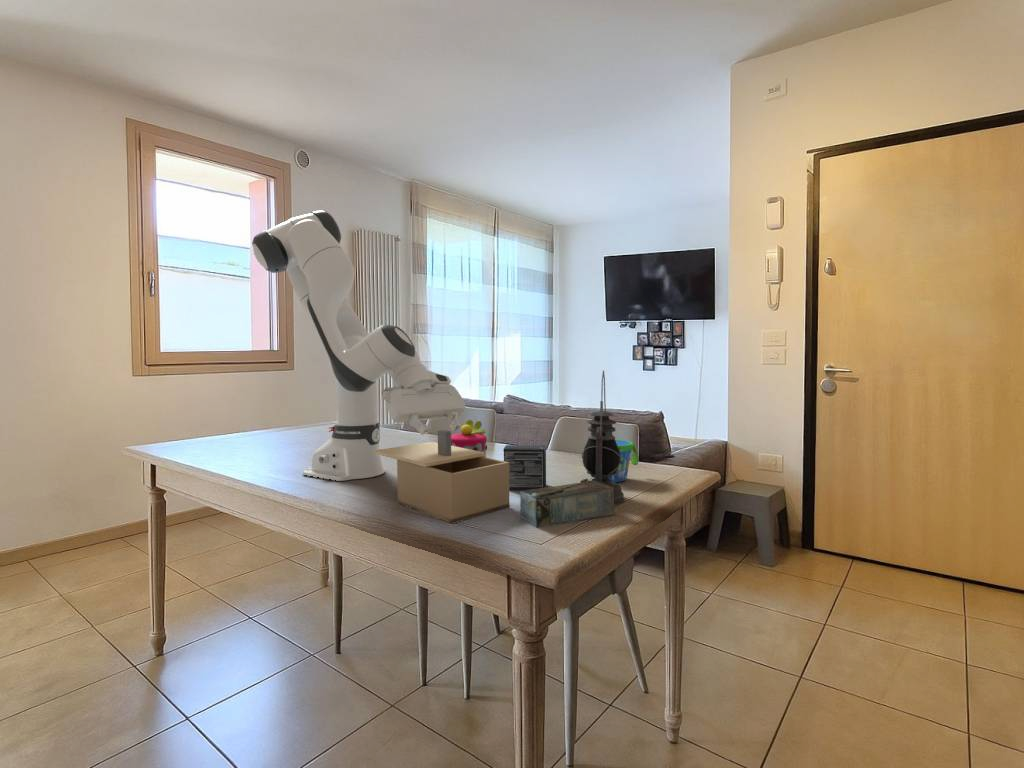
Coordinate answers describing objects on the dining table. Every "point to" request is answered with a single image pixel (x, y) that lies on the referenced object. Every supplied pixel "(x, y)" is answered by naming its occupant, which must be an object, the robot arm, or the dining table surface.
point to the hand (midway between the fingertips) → (441, 430)
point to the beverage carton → (567, 503)
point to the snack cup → (625, 460)
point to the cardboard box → (455, 487)
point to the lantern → (602, 450)
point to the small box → (526, 466)
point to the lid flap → (431, 452)
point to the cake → (470, 437)
